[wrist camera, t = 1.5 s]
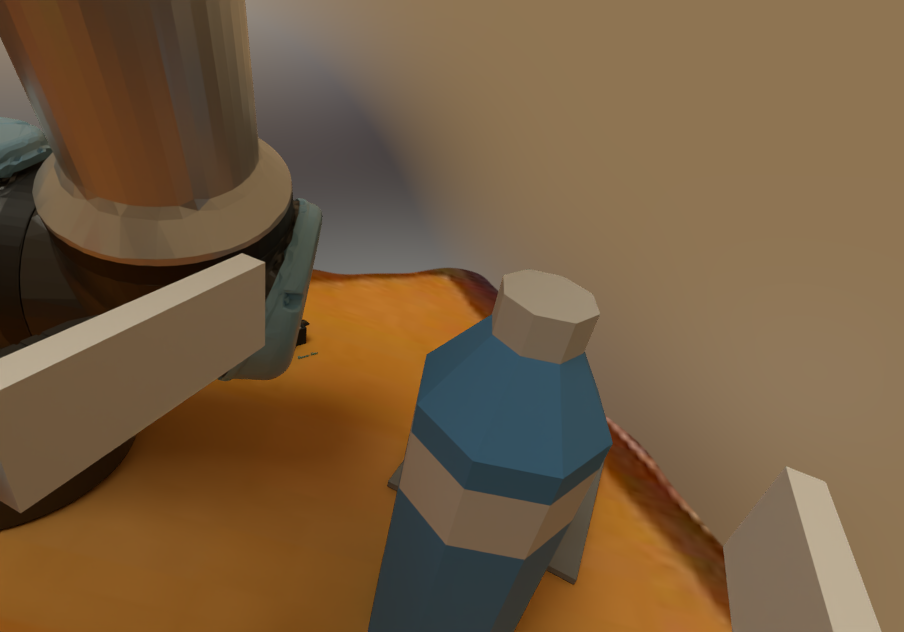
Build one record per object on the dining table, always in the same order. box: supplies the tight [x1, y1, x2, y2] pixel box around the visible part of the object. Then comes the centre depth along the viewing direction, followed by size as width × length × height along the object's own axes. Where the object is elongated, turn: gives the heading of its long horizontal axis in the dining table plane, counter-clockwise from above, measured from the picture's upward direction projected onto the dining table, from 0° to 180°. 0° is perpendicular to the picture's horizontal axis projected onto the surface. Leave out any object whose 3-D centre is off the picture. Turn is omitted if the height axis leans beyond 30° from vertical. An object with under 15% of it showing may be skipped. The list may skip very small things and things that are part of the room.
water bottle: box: [368, 269, 613, 632], centre depth 26 cm, size 9×9×25 cm
